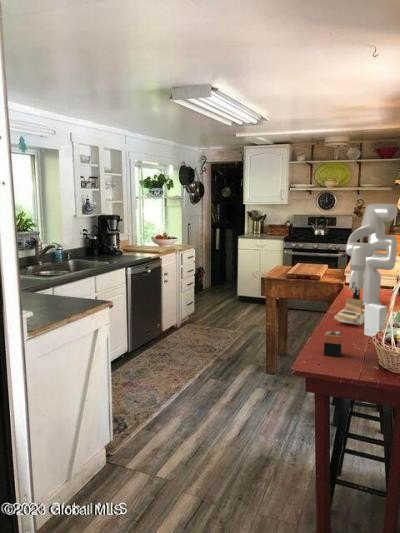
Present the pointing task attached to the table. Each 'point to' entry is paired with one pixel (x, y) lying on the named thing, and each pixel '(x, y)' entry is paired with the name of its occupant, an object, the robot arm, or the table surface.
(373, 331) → the skincare box
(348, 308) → the lid
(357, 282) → the robot arm
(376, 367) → the table surface
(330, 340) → the battery
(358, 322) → the box
